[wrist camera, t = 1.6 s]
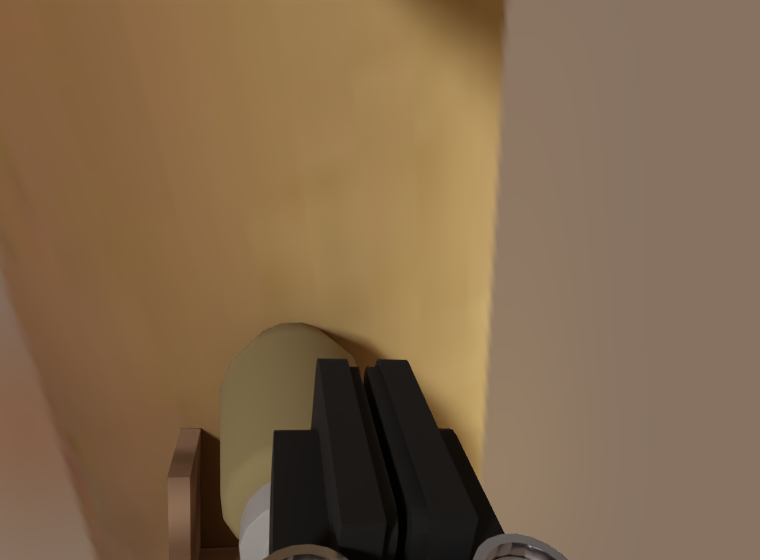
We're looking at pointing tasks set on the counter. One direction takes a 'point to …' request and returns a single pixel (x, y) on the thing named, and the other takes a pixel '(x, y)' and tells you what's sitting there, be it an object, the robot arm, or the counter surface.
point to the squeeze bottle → (265, 421)
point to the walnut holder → (189, 503)
